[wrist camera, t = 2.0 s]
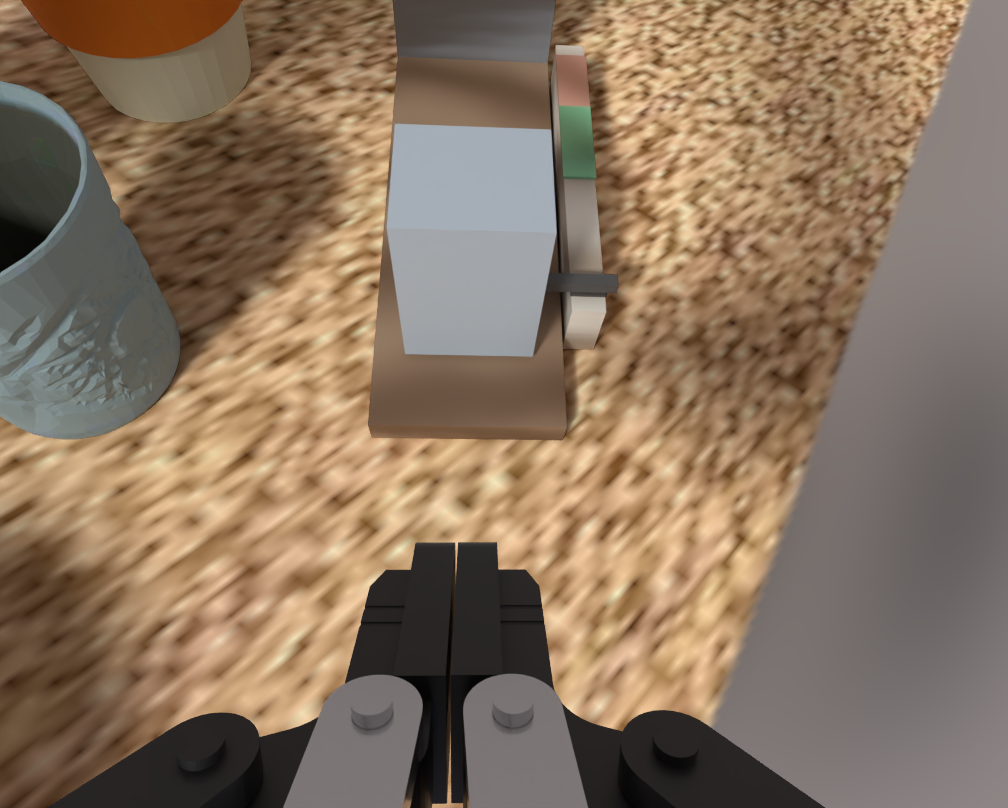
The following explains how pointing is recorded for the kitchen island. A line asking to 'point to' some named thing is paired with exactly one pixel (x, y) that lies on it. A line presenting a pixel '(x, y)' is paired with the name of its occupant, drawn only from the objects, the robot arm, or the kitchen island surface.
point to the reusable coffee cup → (154, 52)
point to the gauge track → (566, 112)
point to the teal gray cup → (71, 285)
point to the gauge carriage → (475, 238)
